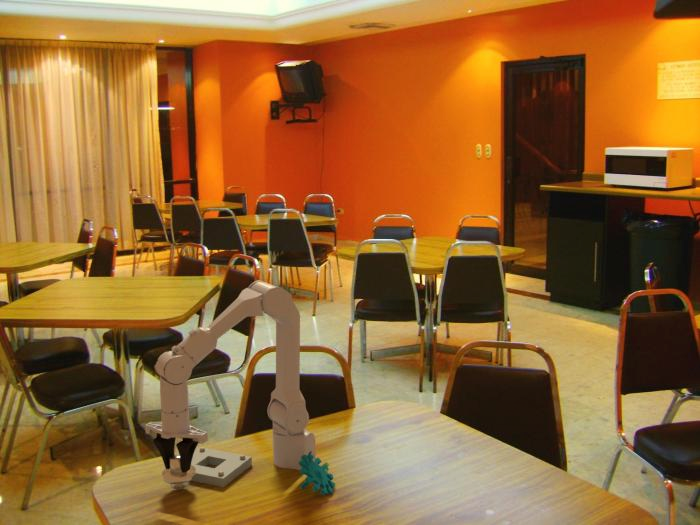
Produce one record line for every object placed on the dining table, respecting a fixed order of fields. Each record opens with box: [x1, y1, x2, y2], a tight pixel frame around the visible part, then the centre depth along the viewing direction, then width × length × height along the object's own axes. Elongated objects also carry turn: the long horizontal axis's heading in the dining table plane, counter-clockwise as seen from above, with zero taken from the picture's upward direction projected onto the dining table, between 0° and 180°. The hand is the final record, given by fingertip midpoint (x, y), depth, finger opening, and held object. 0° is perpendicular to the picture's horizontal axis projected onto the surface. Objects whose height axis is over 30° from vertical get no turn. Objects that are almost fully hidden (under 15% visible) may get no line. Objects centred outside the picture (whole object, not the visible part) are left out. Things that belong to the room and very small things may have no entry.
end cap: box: [161, 452, 196, 490], centre depth 162 cm, size 7×7×6 cm
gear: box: [298, 454, 336, 496], centre depth 165 cm, size 11×6×10 cm
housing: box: [190, 446, 253, 488], centre depth 172 cm, size 14×12×4 cm
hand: (177, 469), depth 162 cm, fingers closed on end cap, 4 cm apart
